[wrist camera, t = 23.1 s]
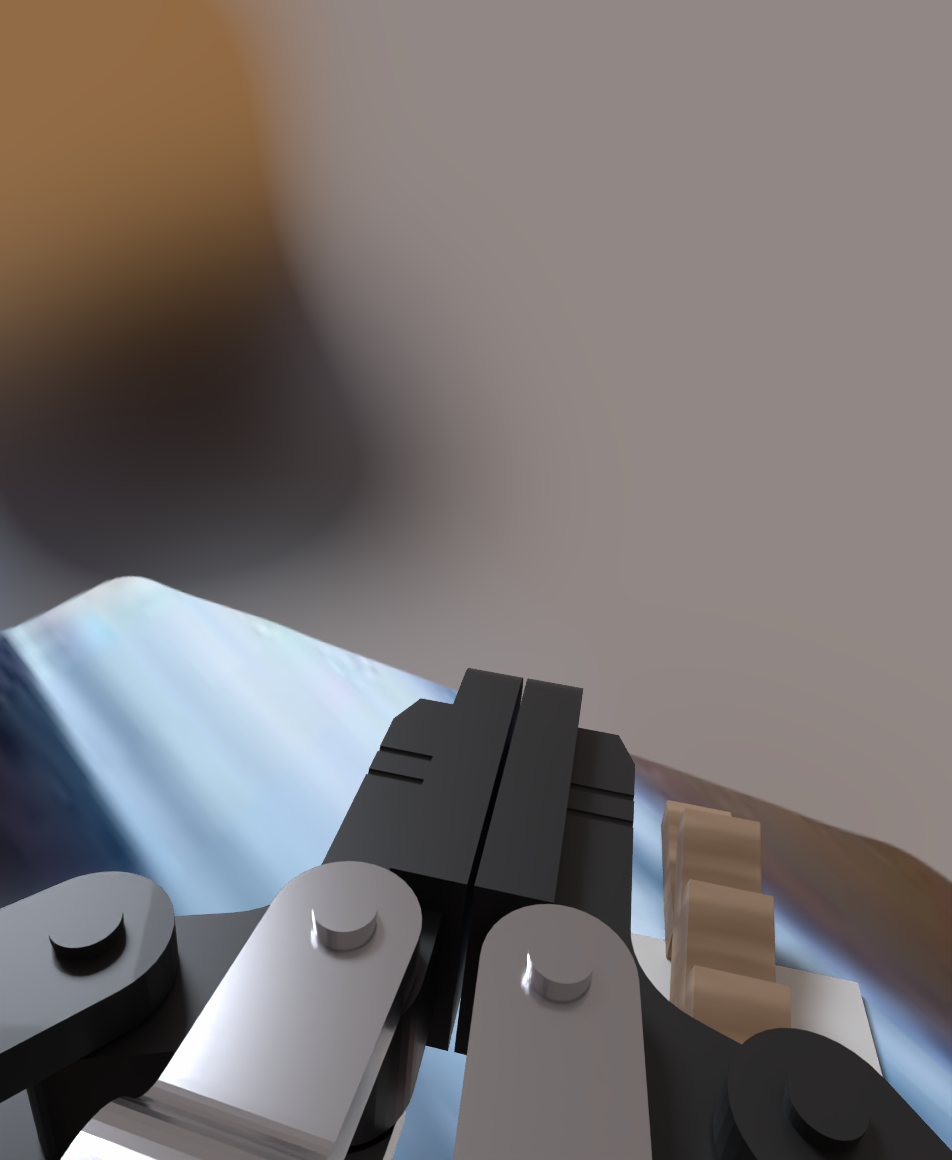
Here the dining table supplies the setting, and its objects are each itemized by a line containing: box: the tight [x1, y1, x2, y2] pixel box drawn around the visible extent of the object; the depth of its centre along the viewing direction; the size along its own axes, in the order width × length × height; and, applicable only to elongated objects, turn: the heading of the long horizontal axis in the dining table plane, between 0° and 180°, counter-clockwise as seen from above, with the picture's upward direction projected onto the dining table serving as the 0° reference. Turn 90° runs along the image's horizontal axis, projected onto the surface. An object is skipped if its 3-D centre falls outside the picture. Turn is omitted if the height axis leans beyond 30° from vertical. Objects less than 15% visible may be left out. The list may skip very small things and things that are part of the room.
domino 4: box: [684, 965, 791, 1044], centre depth 32 cm, size 2×4×11 cm
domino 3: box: [676, 879, 776, 1012], centre depth 37 cm, size 2×4×11 cm
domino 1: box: [661, 800, 731, 959], centre depth 47 cm, size 2×4×11 cm
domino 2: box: [669, 808, 762, 1006], centre depth 41 cm, size 2×4×11 cm
